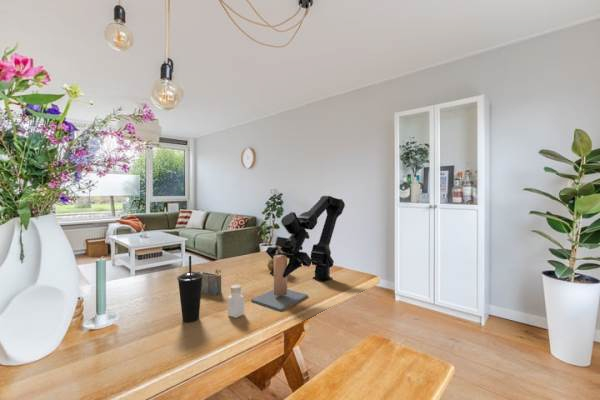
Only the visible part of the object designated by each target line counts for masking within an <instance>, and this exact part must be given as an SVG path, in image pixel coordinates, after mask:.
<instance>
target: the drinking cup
mask: <svg viewBox="0 0 600 400" xmlns="http://www.w3.org/2000/svg"><path fill="white" fill-rule="evenodd" d="M198 272H199V271H192V256H191V255H189V256H188V271H187V272H183V273H182V274H180V275H179V276H177V277H176V278H177V281H178V290H179V299H180V301H179V302H180V308H181V309H180V310H181V319H182V322H184V323H193V322H196V321H197V320H198V321H199V318H200V309H201V298H202V292H201V287H202V278H203V273H201V272H200V273H198Z"/></svg>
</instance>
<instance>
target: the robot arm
mask: <svg viewBox="0 0 600 400" xmlns="http://www.w3.org/2000/svg"><path fill="white" fill-rule="evenodd" d="M345 207H346V205H345V202H344V201H343V199H341V198H336V197H333V196H331V195H322V196H320V199H319V200H318V201H317V202H316V203H315V204H314V205H313V206H312V207H310V209H309V210H307V211H305V212H302V213H300V214H299V215H297V214H296V212H293V211H290V212H289V213H287V214H286V215H284V216H282V219H281V221H280V222H281V225H282V226H283V227H284V229H285V230H286V231H287V233H288V234H290V236H289V237H280V236H277V237H276V240H275V244H274V246H275V245H276V246H280V249H281V250H282V252H280V251H279V250H278V249H277V248H275V247H273V246H268V247H267V248H266V250H265V253H266V254H267V255H268V257H269V258H272V259H273V268H272V271H271V274H272V275H273V276H274V256H275V255H286V256H287V259H288V262H287V267H286V269H285V271H284V274H283V277H284V278H285V277H286V276H287V277H288V276H289V275H290V274H292V273H293V272H294V271H296V270H297V269H299V268H302V267H303V266H304V267H308V268H309V267H310V266H311V265H312V266H315V270H314V276H313V277H312V279H314V280H316V281H317V280H318V281H321V282H326V281H330V280H332V279H333V277H331V276H330V272H331V269H330V268H333V266H334V264H335V263H334V260H333V258H332V256H331V253H332V252H331V248H330V244H331V240H332V237H333V233H334V230H335V227H336V223H337V220H338V218H339V217H340V216H341V214H342V213H343V211H344V209H345ZM325 211H326V218H325V221H324V224H323V227H322V231H321V234H320V237H319V240H318V242H317V243H316V244H313V245H312V249H311V251H310V255H309V254H308V253H307V252H305V251H303V249H304V248H303V244H304V242H305V240H306V239H310V235H309V232H308V231H307V230H310V231H312V230H314V229H315V227H316V226H317V224H318V219H319V217H320V216H321V215H322V214H323V213H324V212H325Z"/></svg>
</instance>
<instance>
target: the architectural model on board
mask: <svg viewBox="0 0 600 400" xmlns="http://www.w3.org/2000/svg"><path fill="white" fill-rule="evenodd" d="M197 272H198V273H201V271H197ZM221 272H222V269H220V270H219V269H218V268H216V269H215V273H212V272H205V271H202V274H203V278H202V287H201V293H203V294H208V295H212V296H213V295H214V296H218V295H220V294H222V274H220V273H221ZM219 274H220V275H219Z"/></svg>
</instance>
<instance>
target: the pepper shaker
mask: <svg viewBox="0 0 600 400" xmlns="http://www.w3.org/2000/svg"><path fill="white" fill-rule="evenodd" d="M241 290H242V286H241V285H240V284H233V285H231V286H230V295H229V296H228V297H227V316H229V317H231V318H235V319H236V318H239V317H241V316H243V315H244V314H245V296H244V295H242V294H241V293H242V291H241Z"/></svg>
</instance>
